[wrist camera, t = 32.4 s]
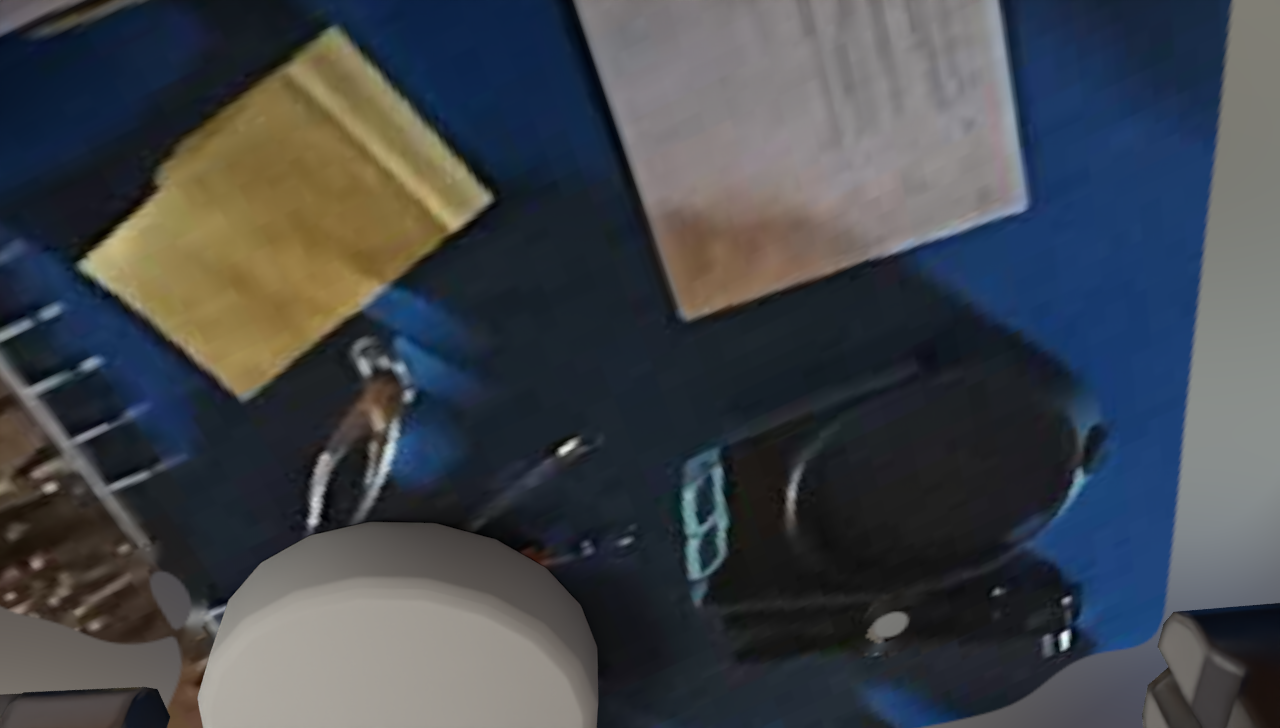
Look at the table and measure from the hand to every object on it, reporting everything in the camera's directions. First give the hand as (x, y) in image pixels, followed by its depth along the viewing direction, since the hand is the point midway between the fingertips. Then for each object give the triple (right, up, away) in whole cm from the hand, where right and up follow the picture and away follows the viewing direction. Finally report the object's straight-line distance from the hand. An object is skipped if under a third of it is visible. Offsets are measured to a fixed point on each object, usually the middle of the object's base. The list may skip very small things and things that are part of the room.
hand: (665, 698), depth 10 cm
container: (-12, -13, +55) cm, 58 cm away
